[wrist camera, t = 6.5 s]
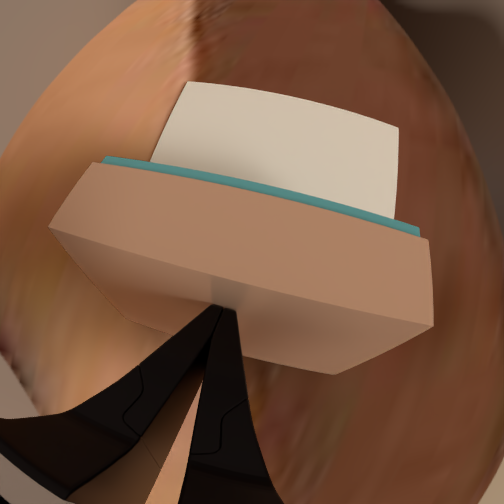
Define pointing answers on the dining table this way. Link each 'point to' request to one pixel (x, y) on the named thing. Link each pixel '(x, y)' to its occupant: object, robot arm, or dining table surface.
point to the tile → (248, 261)
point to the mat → (283, 144)
